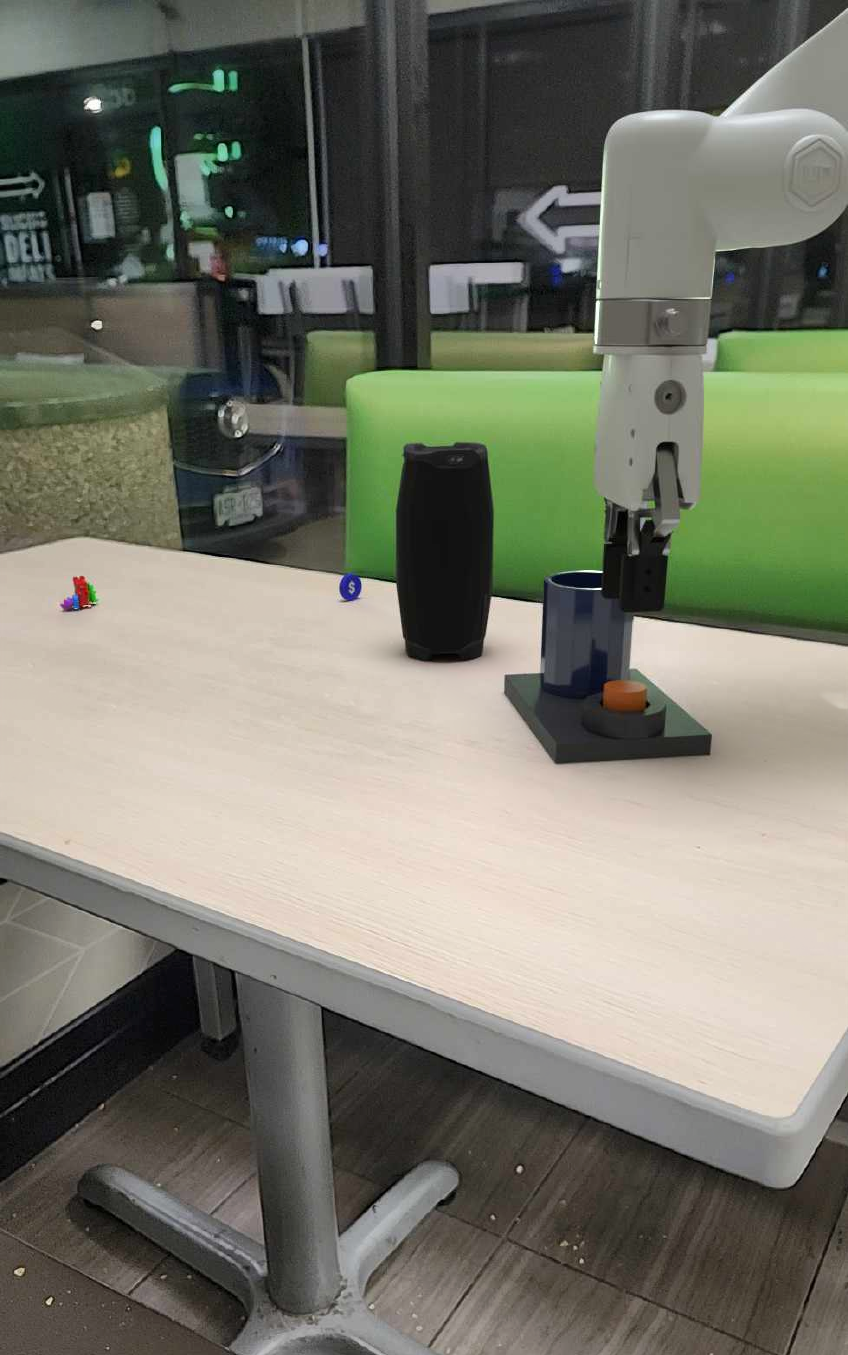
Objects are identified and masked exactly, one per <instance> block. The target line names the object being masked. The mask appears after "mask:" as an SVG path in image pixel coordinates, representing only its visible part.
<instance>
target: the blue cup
mask: <svg viewBox="0 0 848 1355" xmlns="http://www.w3.org/2000/svg"><path fill="white" fill-rule="evenodd" d="M601 584H602V570H601V571H600V570H571V571H570V570H569V571H562V572H561V571H560V572H555V573H552V574H549V575H546V576H545V577H544V579H543V588H542V589H543V592H542V595H543V596H542V615H541V619H542V620H541V638H540V639H541V640H540V641H541V642H540V644H541V645H540V666H539V668H540V670H539V673H540V679H541V682H540V685H541V687H542V689H543V690H545V691H547V692H549V693H551V694H554V695H558V696H562V697H567V698H575V699H586V698H587V697H588V696H591V695H595V694H598V693H602V692H604V685H605V684H606V683H607V682H610V681H616V680H629V679H630V669H631V664H632V651H633V639H634V638H633V636H634V623H635V622H634V621H635V612H627V613H625V612H623V611H621V610H620V609H619V599H606V598H604V597H603V596H602V595H601Z"/></svg>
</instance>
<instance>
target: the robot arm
mask: <svg viewBox="0 0 848 1355" xmlns="http://www.w3.org/2000/svg"><path fill="white" fill-rule="evenodd" d="M601 175H602V176H601V195H600V212H599V234H598V251H597V252H598V253H597V269H596V270H597V273H596V289H595V299H596V300H595V305H594V323H593V324H594V327H593V346H592V354H593V355H604V356H603V362H602V368H601V369H602V370H601V377H600V378H601V379H600V382H599V385H600V386H599V395H598V403H597V404H598V405H597V415H596V426H595V427H596V428H595V439H594V440H595V441H594V456H593V482H594V487H595V491H596V492H597V493H598V494H599V495H600V496H602V497H603V501H604V503H605V506H604V508H605V509H604V514H605V518H604V525H603V526H604V527H603V540H604V543H603V552H602V553H603V554H602V570H601V571H602V584H601V595H602V596H603V597H604V598H606V599H619V609H620V610H621V611H623V612H625V613H627V612H634V613H650V612H661V611H662V610H663V609H664V608H665V598H666V588H667V587H666V586H667V577H668V576H667V574H668V564H669V555H670V554H671V548H672V547H671V546H672V534H673V533H674V530H675V529H676V528H677V527H678V526H679V525H680V521H681V510H685V511H689V510H692V509H694V508H695V507H696V506H697V504H698V503H699V501H700V496H701V485H702V484H701V482H702V481H701V480H702V467H703V466H702V465H703V464H702V463H703V443H704V420H705V419H704V418H705V385H704V367H703V366H704V365H703V355H707V354H708V353H707V352H708V341H709V330H710V329H709V328H710V319H711V308H712V300H711V299H712V297H713V296H712V295H713V284H714V274H715V273H714V272H715V264H716V263H715V262H716V252H722V251H723V252H725V251H735V250H743V249H751V248H756V249H757V248H768V247H769V248H770V247H777V246H786V245H792V244H796V243H799V242H803V241H806V240H808V239H811V238H813V237H815V236H817V235H819V234H820V233H822V232H823V231H825V230H826V229H827V228H829V227H830V226H831V225H832V224H833V223H834V222H836V220H838V219H839V217H840V216H841V215H842V213H843V212H844V211H845V210H846V208H847V206H848V7H847V8H845V9H844V10H843V11H842V12H841V13H840V14H838V15H837V16H836V17H835V18H834V19H833V20H831V21H830V22H829V23H828V24H826V25H825V26H824V27H823V28H821V29H820V30H819V31H818V32H816V33H815V34H813V35H812V36H810V37H809V38H808V39H807V40H805V42H804V43H801V44H800V45H799V46H798V47H797V48H795V49H794V50H793V51H792V52H790V53H789V54H788V55H786V56H785V57H783V59H781V60H780V61H779V62H778V63H777V64H775V65H774V66H773V67H772V68H770V69H769V70H768V71H767V72H766V73H764V74H763V75H762V76H761V77H760V78H759V79H757V80H756V81H755V82H754V83H753V84H752V85H750V87H749V88H748V89H747V90H745V92H743V93H742V94H741V95H740V96H739V97H738V98H736V99H735V101H733V103H731V104H730V105H729V106H728V107H727V108H726V109H725V110H724V111H723V112H722V113H721V114H720V115H719V116H715V115H712V114H709V113H707V112H702V111H696V110H686V109H659V110H658V109H657V110H648V111H643V112H635V113H631V114H627V115H626V116H624V117H621V118H619V119H618V120H616V121H615V122H614V123H613V124H612V125H611V126H610V128H609V130H608V132H607V135H606V137H605V140H604V146H603V156H602V172H601ZM649 502H654V507H653V508H650V507H649ZM680 509H681V510H680ZM649 518H651V519H649Z"/></svg>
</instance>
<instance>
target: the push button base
mask: <svg viewBox="0 0 848 1355" xmlns="http://www.w3.org/2000/svg"><path fill="white" fill-rule="evenodd" d="M503 679H504V680H503V681H504V683H503V684H504V685H503V693H504V695H505V696H506V698H507V699H508V700H509V702H510V703H511V705H512V706H513V707H514V709H515V710H516V711H517V713H518V714H519V716H520V717H521V718H522V720H523V721H524V723H525V724H526V725H527V727H528V728H529V729H530V731H531V732H532V734H533V735H534V736H535V738H536V739H537V741H538V742H539V744H540V745H541V746H542V749H544V751H545V752H546V753H547V755H548V756H549V758H550V759H551V760H552V761H553V763H554V764H555V765H562V764H563V765H564V764H580V763H596V762H597V763H599V762H615V761H633V760H635V761H636V760H650V759H651V760H652V759H665V758H666V759H668V758H684V757H685V758H686V757H703V756H711V749H712V740H713V739H712V738H713V734H712V733H711V732H710V731H709V730H708V729H706V728H705V727H704V726H703V725H702V724H701V723H699V722H698V721H697V720H696V719H695V718H694V717H693V716H691V715H690V714H689V713H688V712H687V711H686V710H685V709H683V708H682V707H681V706H680V705H679V704H678V703H677V702H675V701H674V700H673V699H672V698H670V697H669V696H668V695H667V694H666V693H665V692H664V691H662V689H661V688H660V687H658V686H657V685H656V684H655V683H654V682H652V681H651V680H650V679H649V678H648V677H647V676H646V675H644V674H643V673H642V672H641V671H640V670H638V669H637V668H630V679H629V680H630V681H636V682H640V683H643V684H645V685H646V686H647V696H646V708H645V709H643V710H639V711H617V710H611V709H608V708H605V707H603V696H604V692H602V693H598V694H595V695H591V696H588V697H587V698H586V699H575V698H567V697H562V696H558V695H554V694H551V693H549V692H547V691H545V690H543V689H542V687H541V685H540V682H541V679H540V672H533V673H513V674H512V673H511V674H504V678H503Z"/></svg>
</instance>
